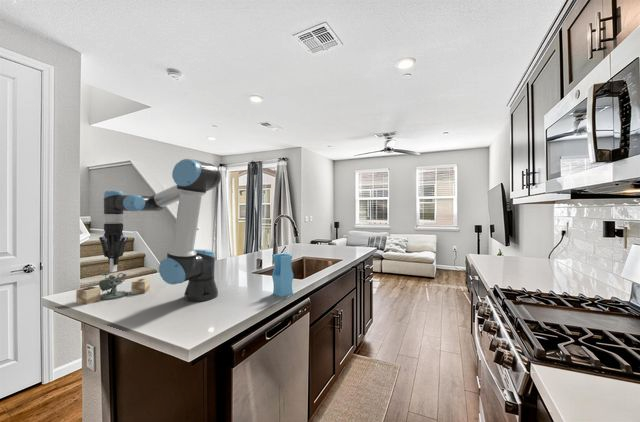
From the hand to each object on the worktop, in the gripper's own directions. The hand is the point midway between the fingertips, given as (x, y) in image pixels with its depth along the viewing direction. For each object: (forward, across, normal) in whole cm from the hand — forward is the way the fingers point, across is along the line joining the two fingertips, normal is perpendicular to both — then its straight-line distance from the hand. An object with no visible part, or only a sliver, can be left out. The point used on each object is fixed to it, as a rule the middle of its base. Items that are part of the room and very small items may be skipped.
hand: (113, 271), depth 132 cm
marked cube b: (+12, +5, +8) cm, 15 cm away
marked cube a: (+12, -8, -8) cm, 17 cm away
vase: (+12, -80, -12) cm, 82 cm away
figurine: (+12, 0, 0) cm, 12 cm away
